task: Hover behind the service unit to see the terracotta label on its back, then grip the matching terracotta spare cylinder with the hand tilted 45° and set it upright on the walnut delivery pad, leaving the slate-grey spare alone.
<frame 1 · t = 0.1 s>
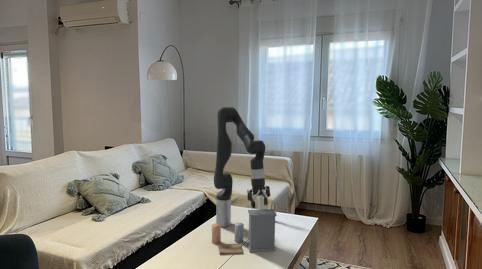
hand: (259, 206, 186), 22 cm above the table, tool pointing down, fingers open, 8 cm apart
candlestick: (260, 217, 231), on the table
terracotta spare: (216, 242, 192), on the table
service unit: (261, 248, 185), on the table
grey spare: (239, 241, 194), on the table
delivery pad: (230, 249, 183), on the table
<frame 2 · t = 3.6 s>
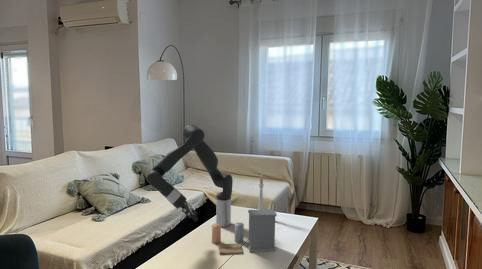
hand: (196, 217, 188), 15 cm above the table, tool tilted 45°, fingers open, 8 cm apart
nothing on the table moved.
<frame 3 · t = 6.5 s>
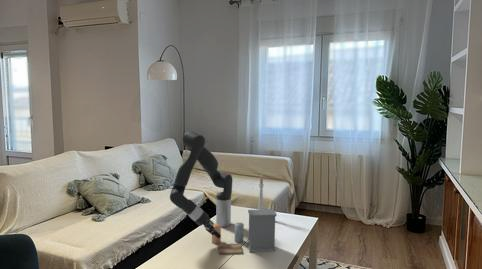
hand: (219, 234, 192), 4 cm above the table, tool tilted 45°, fingers closed on terracotta spare, 5 cm apart
terracotta spare: (216, 242, 192), on the table, touching gripper
everything else where it was.
when the fingers open (7 cm above the table, at t = 11.6 s): terracotta spare drops 1 cm, resting on delivery pad.
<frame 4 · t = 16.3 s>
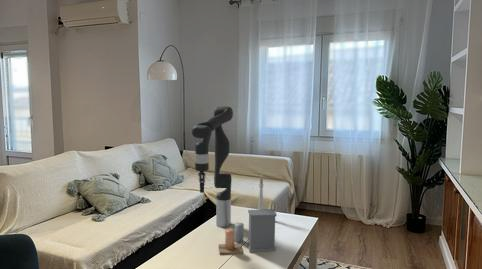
hand: (201, 190, 188), 30 cm above the table, tool pointing down, fingers open, 8 cm apart
terracotta spare: (230, 247, 183), point 1 cm above the table, touching delivery pad
everything else where it was.
at the end: terracotta spare inside the target area on the delivery pad (0.1 cm from its centre), point 1.1 cm above the delivery pad's base; terracotta spare tilted 1°; grey spare moved 0.0 cm from its start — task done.
